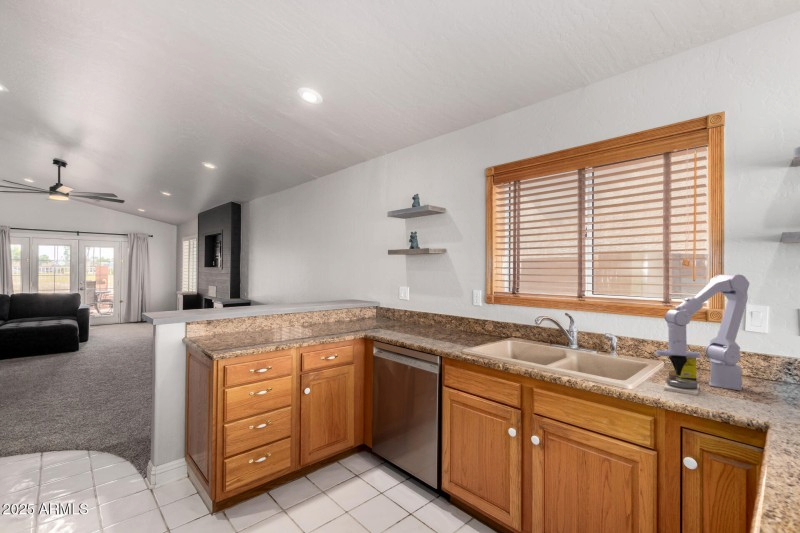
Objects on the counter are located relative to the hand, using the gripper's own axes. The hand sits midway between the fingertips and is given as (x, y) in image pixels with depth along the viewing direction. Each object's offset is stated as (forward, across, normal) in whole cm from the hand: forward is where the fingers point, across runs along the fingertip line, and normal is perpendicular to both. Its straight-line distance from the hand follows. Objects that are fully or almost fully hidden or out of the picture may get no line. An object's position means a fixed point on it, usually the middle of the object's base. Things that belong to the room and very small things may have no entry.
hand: (678, 375), depth 148 cm
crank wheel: (+3, 0, -4) cm, 5 cm away
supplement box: (+4, +8, +13) cm, 16 cm away
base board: (+4, 0, -4) cm, 6 cm away
